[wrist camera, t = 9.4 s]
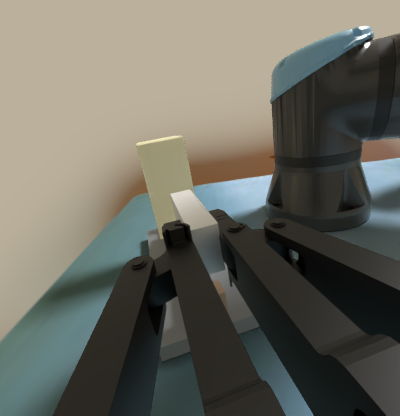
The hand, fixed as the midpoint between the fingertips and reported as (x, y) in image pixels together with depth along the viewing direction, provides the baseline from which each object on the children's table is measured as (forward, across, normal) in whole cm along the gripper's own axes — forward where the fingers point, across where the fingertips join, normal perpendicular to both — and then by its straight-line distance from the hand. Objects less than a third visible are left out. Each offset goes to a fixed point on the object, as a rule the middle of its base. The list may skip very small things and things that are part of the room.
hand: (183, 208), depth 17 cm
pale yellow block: (+12, 0, -9) cm, 15 cm away
